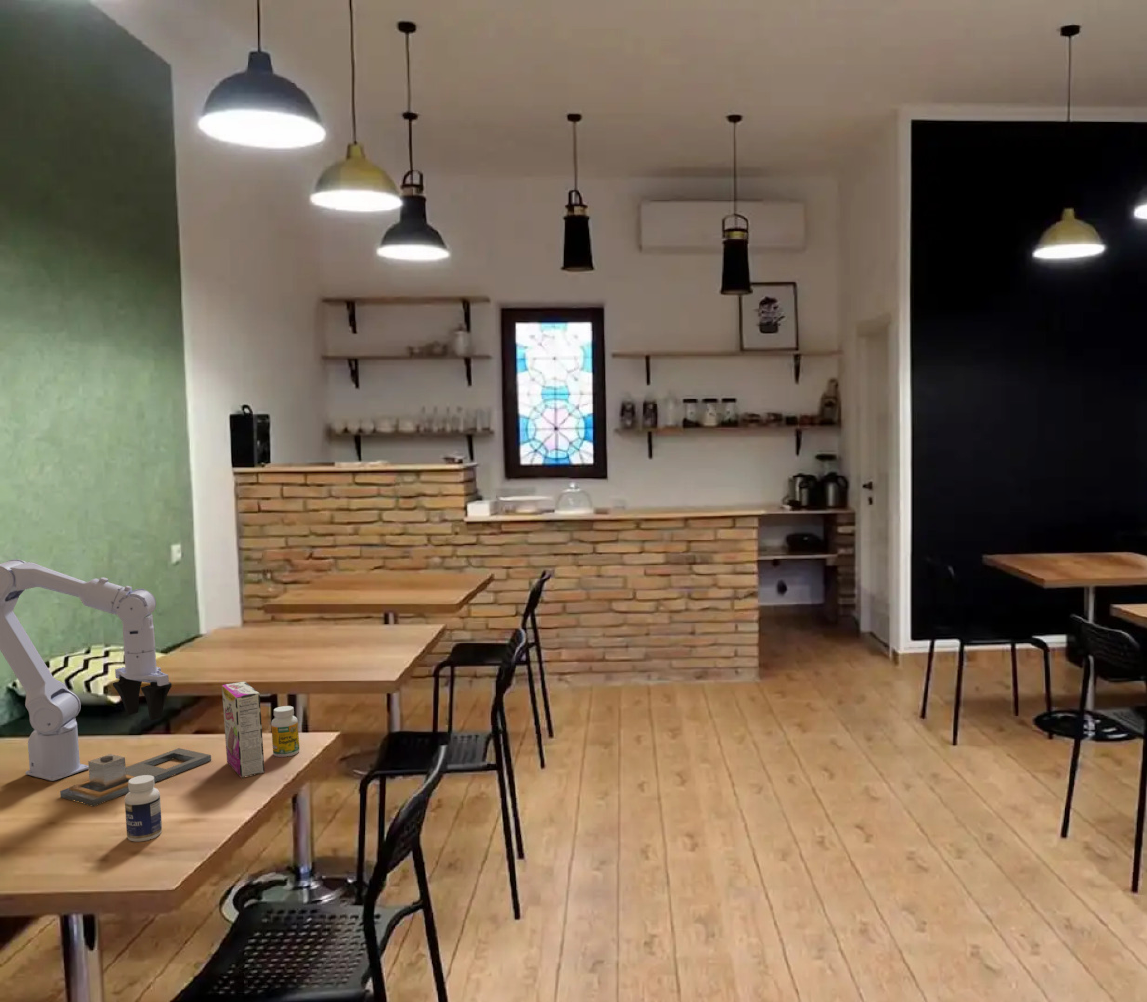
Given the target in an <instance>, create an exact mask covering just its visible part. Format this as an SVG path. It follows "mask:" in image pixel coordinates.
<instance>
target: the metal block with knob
mask: <svg viewBox="0 0 1147 1002" xmlns="http://www.w3.org/2000/svg"><path fill="white" fill-rule="evenodd" d="M87 764H88V766H89V769H88V777H89V779H88V780H90V790H94V791H98V792H103V791H105V790H108V789H111V788H113V787H116V786H119V785H121V784H124V783H126V782H127V781H126V767H127V766H126V757H124V756H121V755H120V756H119V755H115V754H111V753H109V754H107V755H102V756H101V757H97V758H95V759H92V760H88V762H87Z"/></svg>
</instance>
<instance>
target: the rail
mask: <svg viewBox="0 0 1147 1002" xmlns="http://www.w3.org/2000/svg"><path fill="white" fill-rule="evenodd" d="M171 760H179V761H184V762H181V763H179V764H176V765H173V766H171V767H168V768H164V767H159V766H157V765H156V764H158V765H159V763H160V764H163V763H166V762H168V761H171ZM165 761H166V762H165ZM208 761H209V762H212V755H211V754H208V753H207V754H206V753H203V752H199V751H194V750H189V749H185V748H181V747H180V748H179V747H178V748H175V749H173V750H170V751H168V752H165V753H162V754H158V755H156V756H153V757H151V758H148V759H145V760H143V761H140V762H137V763H134V764H131V765H129V766H126V781H127V782H126V783H124V784H121V785H119V786H116V787H113V788H111V789H108V790H105V791H103V792H98V791H94V790H90V779H88V780H85V781H83V782H80V783H78V784H73V785H72V786H69V787H67V788H64V789H62V790H60V791H59V795H60V798H61V799H66V800H69V801H72V800H75V801H74V802H76V801H79V802H83V803H85V804H84V805H87V804H88V805H87V806H90V805H92V806H91V807H96V806H98V805H101V804H103V803H102V802H104V801H106V802H108V801H107V800H109V801H110V800H111V801H112V800H113V799H116V798H119V797H121V796H124V795H127V794H128V793H129V792H130V791H129V788H128V781H129V780H130V779H132V778H134V777H137V776H142V775H151V776H153V777H154V784H155V783H157V781H158V782H160V781H163V780H165V779H168V778H170V776H171V777H173V776H175V775H174V774H176V775H179V774H181V773H183V772H186V771H189V770H191V769H193V768H195V767H199V766H201V765H204V764H206V762H207V763H209V762H208ZM162 762H163V763H162ZM203 763H204V764H203ZM198 765H199V766H198ZM188 769H189V770H188ZM172 775H173V776H172ZM167 777H168V778H167ZM162 779H163V780H162ZM79 802H78V803H79ZM83 803H82V804H83ZM100 803H101V804H100ZM104 803H105V802H104ZM97 804H98V805H97ZM95 805H96V806H95Z"/></svg>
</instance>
